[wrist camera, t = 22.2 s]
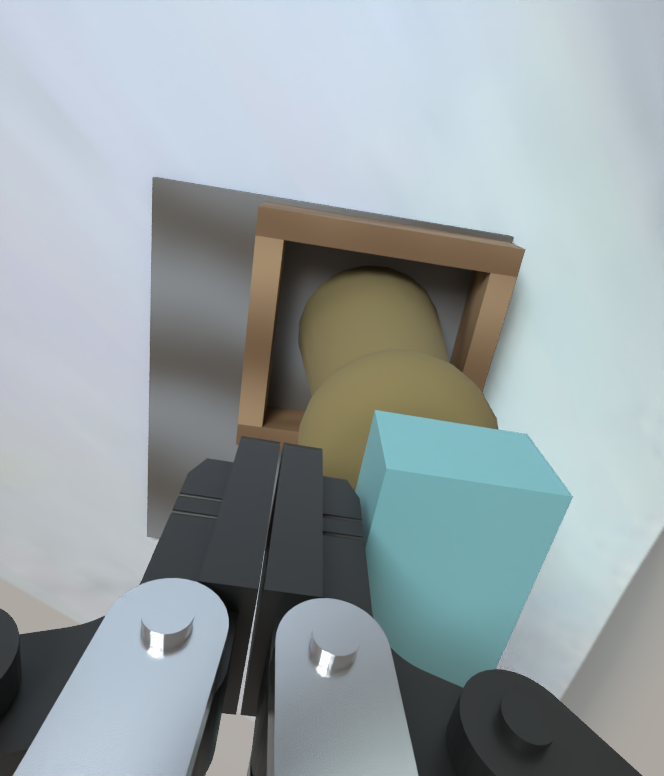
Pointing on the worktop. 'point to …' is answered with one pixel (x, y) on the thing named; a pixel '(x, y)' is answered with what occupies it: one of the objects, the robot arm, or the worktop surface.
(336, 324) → the olive rounded bulb piece
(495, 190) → the worktop surface
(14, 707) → the robot arm
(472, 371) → the grey metal base plate
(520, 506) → the bar
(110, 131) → the worktop surface
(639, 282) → the worktop surface
